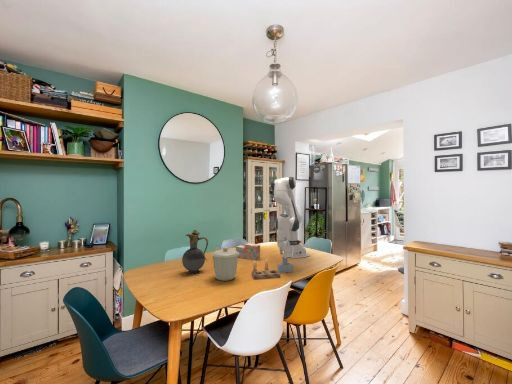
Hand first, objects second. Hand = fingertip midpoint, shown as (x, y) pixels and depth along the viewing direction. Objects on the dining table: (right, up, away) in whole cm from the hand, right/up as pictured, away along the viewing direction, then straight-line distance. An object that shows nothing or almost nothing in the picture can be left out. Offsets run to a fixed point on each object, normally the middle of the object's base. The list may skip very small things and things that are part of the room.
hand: (283, 256), depth 175 cm
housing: (+1, -11, 0) cm, 11 cm away
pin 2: (-12, -11, +5) cm, 17 cm away
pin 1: (-20, -11, +2) cm, 23 cm away
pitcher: (-63, -11, 0) cm, 64 cm away
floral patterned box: (-27, -11, +36) cm, 46 cm away
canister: (-40, -11, -13) cm, 43 cm away
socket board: (-13, -11, -10) cm, 20 cm away
